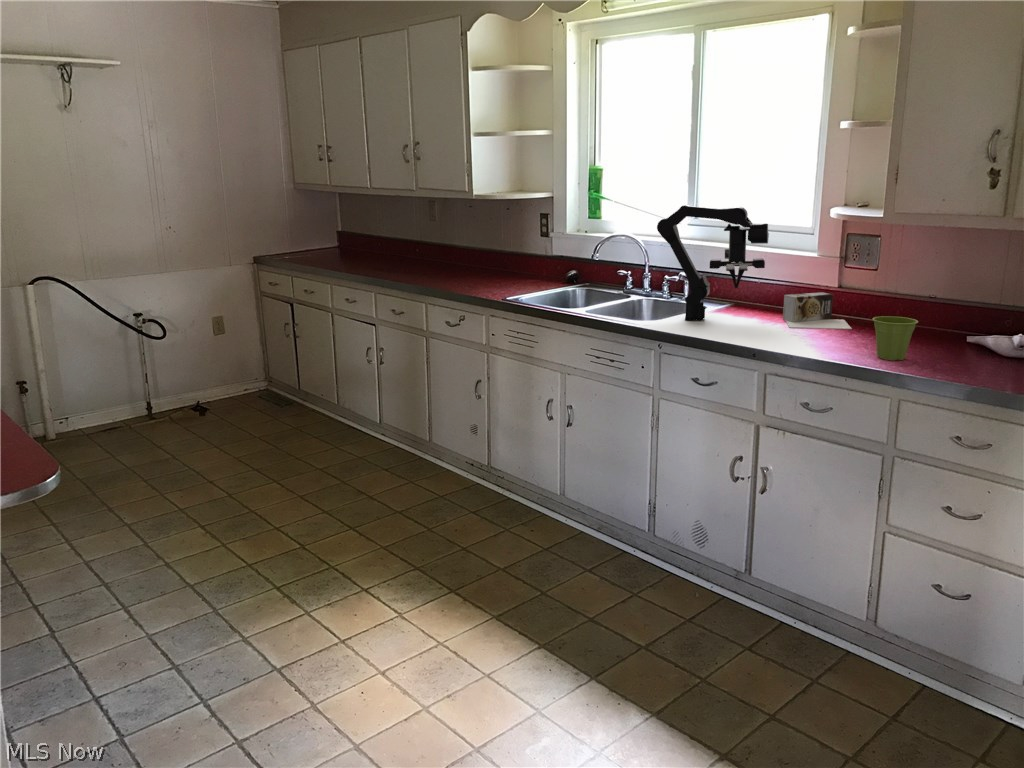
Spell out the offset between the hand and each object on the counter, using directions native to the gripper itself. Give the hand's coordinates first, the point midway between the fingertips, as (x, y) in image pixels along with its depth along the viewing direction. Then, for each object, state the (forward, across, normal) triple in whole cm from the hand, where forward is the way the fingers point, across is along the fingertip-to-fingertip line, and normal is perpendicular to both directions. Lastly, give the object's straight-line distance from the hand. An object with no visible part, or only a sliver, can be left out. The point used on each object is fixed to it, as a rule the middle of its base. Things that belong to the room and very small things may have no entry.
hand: (736, 287), depth 290 cm
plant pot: (+13, -43, +52) cm, 69 cm away
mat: (+12, -28, +2) cm, 30 cm away
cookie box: (+8, -18, -1) cm, 19 cm away
